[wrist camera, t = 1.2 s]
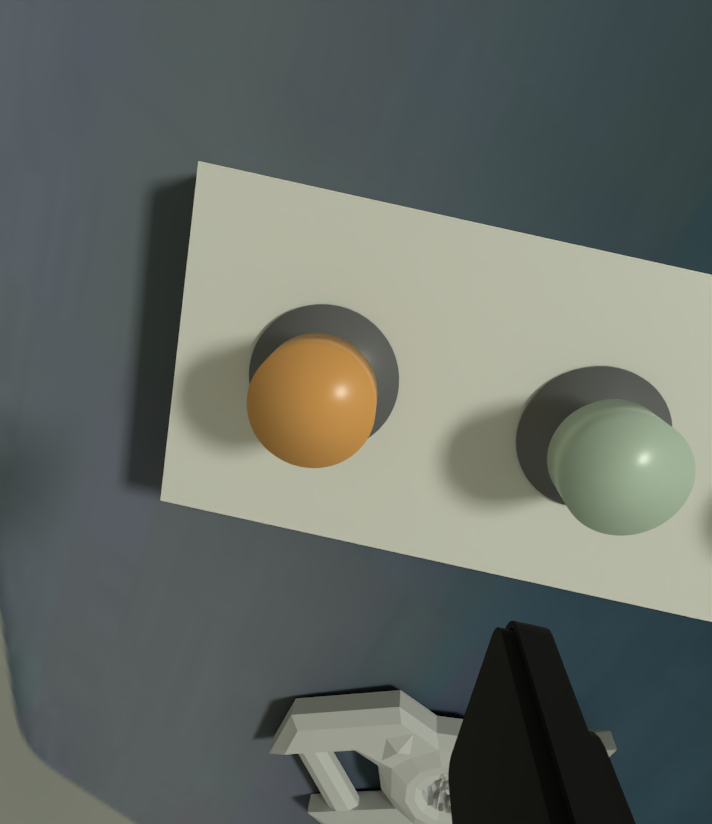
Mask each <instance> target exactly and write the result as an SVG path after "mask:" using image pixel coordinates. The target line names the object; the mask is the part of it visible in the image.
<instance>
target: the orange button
mask: <svg viewBox="0 0 712 824" xmlns="http://www.w3.org/2000/svg"><path fill="white" fill-rule="evenodd" d="M377 391H378V390H377V382H376V378H375V374H374V372H373V369H372V367H371V365H370V364H369V362H368V360H367V359H366V358H365V356H364V355H363V354H362V353H361V352H360V351H359V350H358V349H357V348H356V347H355V346H353V345H352V344H351V343H349V342H347V341H346V340H344V339H341V338H339V337H336V336H333V335H329V334H323V333H311V334H304V335H300V336H297V337H294V338H292V339H290V340H288V341H286V342H284V343H283V344H282V345H280V346H279V347H278V348H277V349H276V350H275V351H274V352H273V353H272V354H271V355H270V356H269V357H268V358H267V359H266V360H265V361H264V362H263V364H262V365H261V366H260V367H259V368H258V370H257V371H256V373H255V374H254V376H253V378H252V380H251V383H250V385H249V389H248V393H247V413H248V419H249V422H250V425H251V427H252V429H253V431H254V434H255V435H256V437H257V438H258V440H259V441H260V442H261V443H262V445H263V446H264V447H265V448H266V449H267V450H268V451H269V452H270V453H272V454H273V455H275V456H276V457H277V458H279V459H281V460H283V461H285V462H287V463H289V464H292V465H295V466H299V467H305V468H324V467H329V466H333V465H336V464H338V463H341V462H343V461H345V460H347V459H348V458H350V457H351V456H353V455H354V454H355V453H356V452H357V451H358V450H359V449H360V448H361V447H362V446H363V445H364V443H365V442H366V440H367V439H368V437H369V435H370V433H371V431H372V428H373V425H374V420H375V414H376V405H377Z"/></svg>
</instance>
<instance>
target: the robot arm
mask: <svg viewBox="0 0 712 824" xmlns="http://www.w3.org/2000/svg"><path fill="white" fill-rule="evenodd" d="M448 782H449V794H450V805H451V815H452V824H635V821H634V819H633V816H632V814H631V811H630V809H629V806H628V804H627V801H626V798H625V796H624V793H623V791H622V788H621V786H620V783H619V781H618V778H617V776H616V773H615V771H614V768H613V766H612V763H611V761H610V758H609V756H608V753H607V751H606V748H605V746H604V744H603V742H602V741H601V739H600V737H599V736H598V735H596V734H595V733H594V732H591V731H588V729H587V726H586V723H585V721H584V718H583V715H582V713H581V710H580V707H579V705H578V702H577V699H576V697H575V694H574V691H573V689H572V686H571V684H570V681H569V678H568V676H567V673H566V670H565V668H564V665H563V662H562V660H561V657H560V654H559V652H558V649H557V646H556V644H555V641H554V638H553V636H552V634H551V632H550V630H549V629H547V628H544V627H540V626H535V625H531V624H526V623H521V622H517V621H510V622H509V623H508V625H507V626H506V629H503V628H499V627H498V628H496V629H495V630H494V632H493V634H492V637H491V640H490V643H489V646H488V649H487V652H486V655H485V658H484V660H483V663H482V666H481V669H480V672H479V675H478V678H477V681H476V684H475V687H474V690H473V693H472V695H471V698H470V701H469V704H468V707H467V710H466V713H465V716H464V719H463V722H462V725H461V727H460V730H459V733H458V736H457V739H456V742H455V745H454V748H453V751H452V754H451V758H450V763H449V772H448Z"/></svg>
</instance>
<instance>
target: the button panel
mask: <svg viewBox="0 0 712 824" xmlns="http://www.w3.org/2000/svg"><path fill="white" fill-rule="evenodd" d="M311 333H323V334H329V335H333V336H336V337H339V338H341V339H344V340H346V341H347V342H349V343H351V344H352V345H353V346H355V347H356V348H357V349H358V350H359V351H360V352H361V353H362V354H363V355H364V356H365V358H366V359H367V360H368V362H369V364H370V365H371V367H372V369H373V372H374V374H375V378H376V382H377V390H378V391H377V405H376V414H375V420H374V425H373V428H372V431H371V433H370V435H369V437H368V439H367V440H366V442H365V443H364V445H363V446H362V447H361V448H360V449H359V450H358V451H357V452H356V453H355V454H354V455H353V456H351V457H350V458H348V459H347V460H345V461H343V462H341V463H338V464H336V465H333V466H329V467H324V468H305V467H299V466H295V465H292V464H289V463H287V462H285V461H283V460H281V459H279V458H277V457H276V456H275V455H273V454H272V453H270V452H269V451H268V450H267V449H266V448H265V447H264V446H263V445H262V443H261V442H260V441H259V440H258V438H257V437H256V435H255V434H254V431H253V429H252V427H251V425H250V422H249V419H248V413H247V393H248V389H249V385H250V383H251V380H252V378H253V376H254V374H255V373H256V371H257V370H258V368H259V367H260V366H261V365H262V364H263V362H264V361H265V360H266V359H267V358H268V357H269V356H270V355H271V354H272V353H273V352H274V351H275V350H276V349H277V348H278V347H279V346H280V345H282V344H283V343H284V342H286V341H288V340H290V339H292V338H294V337H297V336H300V335H304V334H311ZM609 399H621V400H628V401H631V402H635V403H637V404H640V405H642V406H644V407H646V408H647V409H649V410H650V411H652V412H653V413H654V414H655V415H657V416H658V417H659V418H661V419H662V420H663V421H665V422H666V423H667V424H669V425H670V426H671V427H673V428H674V429H675V430H676V431H678V432H679V433H680V434H681V435H682V436H683V437H684V438H685V440H686V441H687V443H688V444H689V446H690V448H691V450H692V452H693V455H694V459H695V467H696V472H695V480H694V485H693V488H692V490H691V493H690V495H689V497H688V499H687V500H686V502H685V503H684V505H683V506H682V507H681V508H680V510H679V511H678V512H677V513H676V514H675V515H674V516H672V517H671V518H670V519H669V520H667V521H666V522H665V523H663V524H661V525H660V526H658V527H656V528H654V529H651V530H649V531H646V532H643V533H639V534H634V535H625V536H616V535H608V534H603V533H600V532H597V531H594V530H592V529H590V528H588V527H586V526H585V525H583V524H582V523H581V522H579V521H578V520H577V519H576V518H575V517H574V516H573V515H572V513H571V512H570V511H569V509H568V508H567V506H566V504H565V502H564V501H563V499H562V497H561V496H560V494H559V492H558V491H557V489H556V487H555V486H554V484H553V482H552V480H551V478H550V475H549V472H548V467H547V452H548V447H549V444H550V441H551V439H552V436H553V434H554V433H555V431H556V429H557V428H558V427H559V425H560V424H561V423H562V422H563V421H564V420H565V419H566V418H567V417H568V416H569V415H571V414H572V413H573V412H575V411H576V410H578V409H579V408H581V407H583V406H585V405H588V404H590V403H593V402H597V401H601V400H609ZM160 500H161V501H165V502H170V503H174V504H179V505H183V506H188V507H192V508H197V509H202V510H206V511H211V512H215V513H220V514H224V515H229V516H233V517H238V518H242V519H247V520H252V521H256V522H261V523H265V524H270V525H274V526H279V527H283V528H288V529H292V530H297V531H301V532H306V533H311V534H315V535H320V536H324V537H329V538H333V539H338V540H342V541H347V542H351V543H356V544H361V545H365V546H370V547H374V548H379V549H383V550H388V551H392V552H397V553H401V554H406V555H410V556H415V557H420V558H424V559H429V560H433V561H438V562H442V563H447V564H451V565H456V566H460V567H465V568H470V569H474V570H479V571H483V572H488V573H492V574H497V575H501V576H506V577H510V578H515V579H519V580H524V581H529V582H533V583H538V584H542V585H547V586H551V587H556V588H560V589H565V590H569V591H574V592H579V593H583V594H588V595H592V596H597V597H601V598H606V599H610V600H615V601H619V602H624V603H628V604H633V605H638V606H642V607H647V608H651V609H656V610H660V611H665V612H669V613H674V614H678V615H683V616H688V617H692V618H697V619H701V620H706V621H710V622H712V275H710V274H705V273H701V272H696V271H692V270H687V269H683V268H678V267H674V266H669V265H665V264H660V263H656V262H651V261H647V260H642V259H638V258H633V257H629V256H624V255H620V254H615V253H611V252H606V251H602V250H597V249H593V248H588V247H584V246H579V245H575V244H570V243H566V242H561V241H557V240H552V239H548V238H543V237H538V236H534V235H529V234H525V233H520V232H516V231H511V230H507V229H502V228H498V227H493V226H489V225H484V224H480V223H475V222H471V221H466V220H462V219H457V218H453V217H448V216H444V215H439V214H435V213H430V212H426V211H421V210H417V209H412V208H408V207H403V206H399V205H394V204H390V203H385V202H381V201H376V200H372V199H367V198H363V197H358V196H354V195H349V194H345V193H340V192H336V191H331V190H327V189H322V188H318V187H313V186H309V185H304V184H300V183H295V182H291V181H286V180H281V179H277V178H272V177H268V176H263V175H259V174H254V173H250V172H245V171H241V170H236V169H232V168H227V167H223V166H218V165H214V164H209V163H205V162H200V161H198V169H197V177H196V186H195V195H194V204H193V213H192V222H191V231H190V240H189V249H188V258H187V267H186V276H185V285H184V294H183V303H182V311H181V320H180V329H179V338H178V347H177V356H176V365H175V374H174V383H173V392H172V401H171V410H170V419H169V428H168V436H167V445H166V454H165V463H164V472H163V481H162V490H161V499H160Z"/></svg>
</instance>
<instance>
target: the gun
mask: <svg viewBox="0 0 712 824" xmlns="http://www.w3.org/2000/svg"><path fill="white" fill-rule="evenodd" d="M462 722H463V719H458V718H451V717H443V716H437V715H435V714H434V713H433V712H431V711H430V710H428V709H427V708H426V707H424V706H423V705H421V704H420V703H419V702H417V701H416V700H414V699H413V698H411V697H410V696H409V695H407V694H406V693H404V692H403V691H401V690H396V691H383V692H371V693H358V694H346V695H333V696H321V697H308V698H296V699H295V701H294V702H293V704H292V706H291V708H290V709H289V711H288V713H287V715H286V716H285V718H284V720H283V721H282V723H281V725H280V727H279V728H278V730H277V732H276V734H275V735H274V738H273V741H272V745H271V748H270V752H269V753H270V754H283V755H286V754H299V756H300V758H301V759H302V761H303V763H304V765H305V766H306V768H307V770H308V771H309V773H310V775H311V777H312V778H313V780H314V782H315V784H316V785H317V787H318V789H319V791H320V792H321V793H320V794H311V796H310V802H309V807H308V812H307V813H309V814H310V815H311V816H312V817H314V818H315V819H316V820H317V821H318V822H320V823H321V824H452V815H451V805H450V794H449V782H448V772H449V763H450V758H451V754H452V751H453V748H454V745H455V742H456V739H457V736H458V733H459V730H460V727H461V725H462ZM588 731H591V732H594V733H595V734H596V735H598V736H599V737H600V739H601V741H602V742H603V744H604V746H605V748H606V751H607V753H608V756H609V757H610V756H611V755H612V754H613V753H614V752H615V751H616V750H617V749H616V746H615V743H614V740H613V737H612V734H611V731H606V730H599V729H591V728H590V729H588ZM350 750H355V751H356V752H358V753H359V754H361V755H362V756H364V757H366V758H367V759H369V760H370V761H372V762H373V763H375V764H376V765H378V769H379V777H380V784H381V789H382V790H372V791H356V790H355V788H354V786H353V785H352V783H351V781H350V780H349V778H348V776H347V774H346V773H345V771H344V769H343V767H342V766H341V764H340V762H339V760H338V759H337V757H336V755H335V754H334V751H350Z"/></svg>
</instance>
